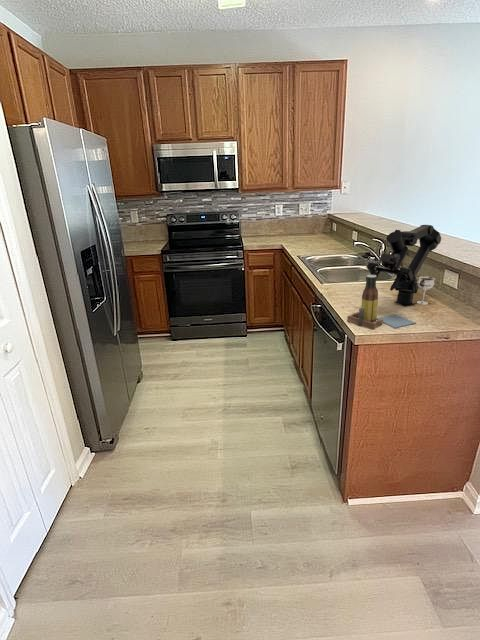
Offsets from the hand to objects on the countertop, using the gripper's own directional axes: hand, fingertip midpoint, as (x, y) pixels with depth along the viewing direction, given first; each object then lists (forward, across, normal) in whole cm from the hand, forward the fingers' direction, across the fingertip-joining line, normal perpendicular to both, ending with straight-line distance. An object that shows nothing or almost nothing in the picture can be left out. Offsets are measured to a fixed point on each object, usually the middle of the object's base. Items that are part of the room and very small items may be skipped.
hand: (380, 287), depth 153 cm
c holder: (+16, 0, +3) cm, 16 cm away
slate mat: (+9, +8, +10) cm, 15 cm away
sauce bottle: (+14, 0, +5) cm, 15 cm away
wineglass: (-13, +5, +32) cm, 35 cm away
